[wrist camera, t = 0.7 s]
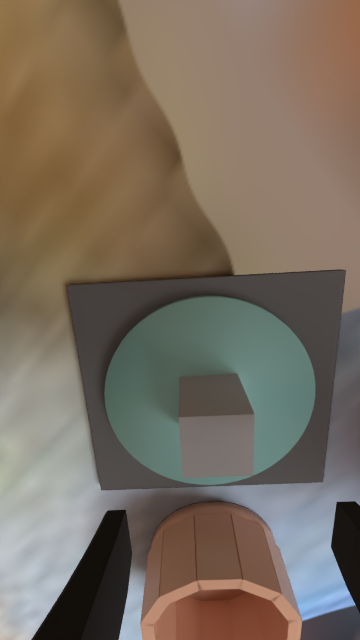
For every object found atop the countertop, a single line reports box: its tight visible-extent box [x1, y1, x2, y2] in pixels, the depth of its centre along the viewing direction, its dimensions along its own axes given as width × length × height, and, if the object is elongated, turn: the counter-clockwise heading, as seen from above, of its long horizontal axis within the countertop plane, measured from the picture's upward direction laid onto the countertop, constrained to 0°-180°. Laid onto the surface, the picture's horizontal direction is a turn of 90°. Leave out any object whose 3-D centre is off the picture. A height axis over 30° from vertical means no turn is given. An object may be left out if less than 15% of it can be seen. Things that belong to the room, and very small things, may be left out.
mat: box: [67, 270, 346, 490], centre depth 18 cm, size 16×15×1 cm
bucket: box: [140, 502, 302, 640], centre depth 20 cm, size 10×10×5 cm
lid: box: [104, 295, 315, 485], centre depth 15 cm, size 13×13×5 cm
